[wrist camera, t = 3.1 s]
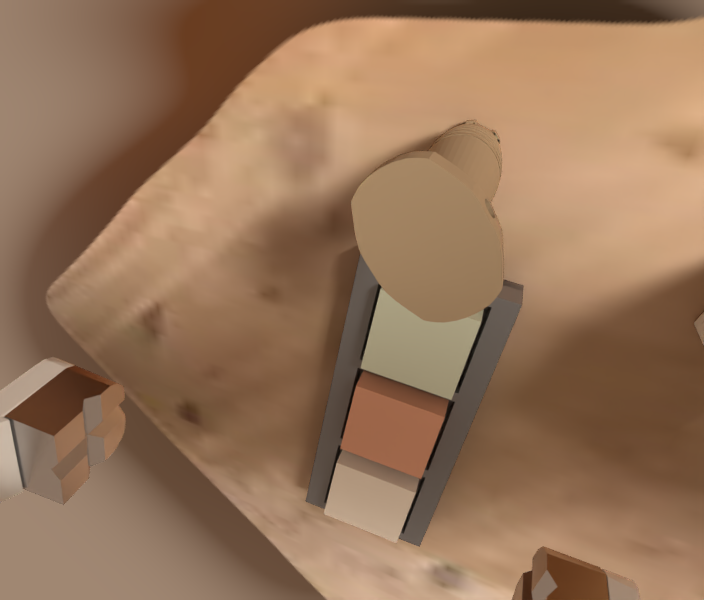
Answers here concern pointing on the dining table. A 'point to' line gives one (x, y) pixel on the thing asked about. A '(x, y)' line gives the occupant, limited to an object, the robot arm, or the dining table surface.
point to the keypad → (459, 409)
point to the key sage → (418, 347)
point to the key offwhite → (370, 495)
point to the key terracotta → (393, 423)
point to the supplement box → (700, 326)
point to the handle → (435, 225)
